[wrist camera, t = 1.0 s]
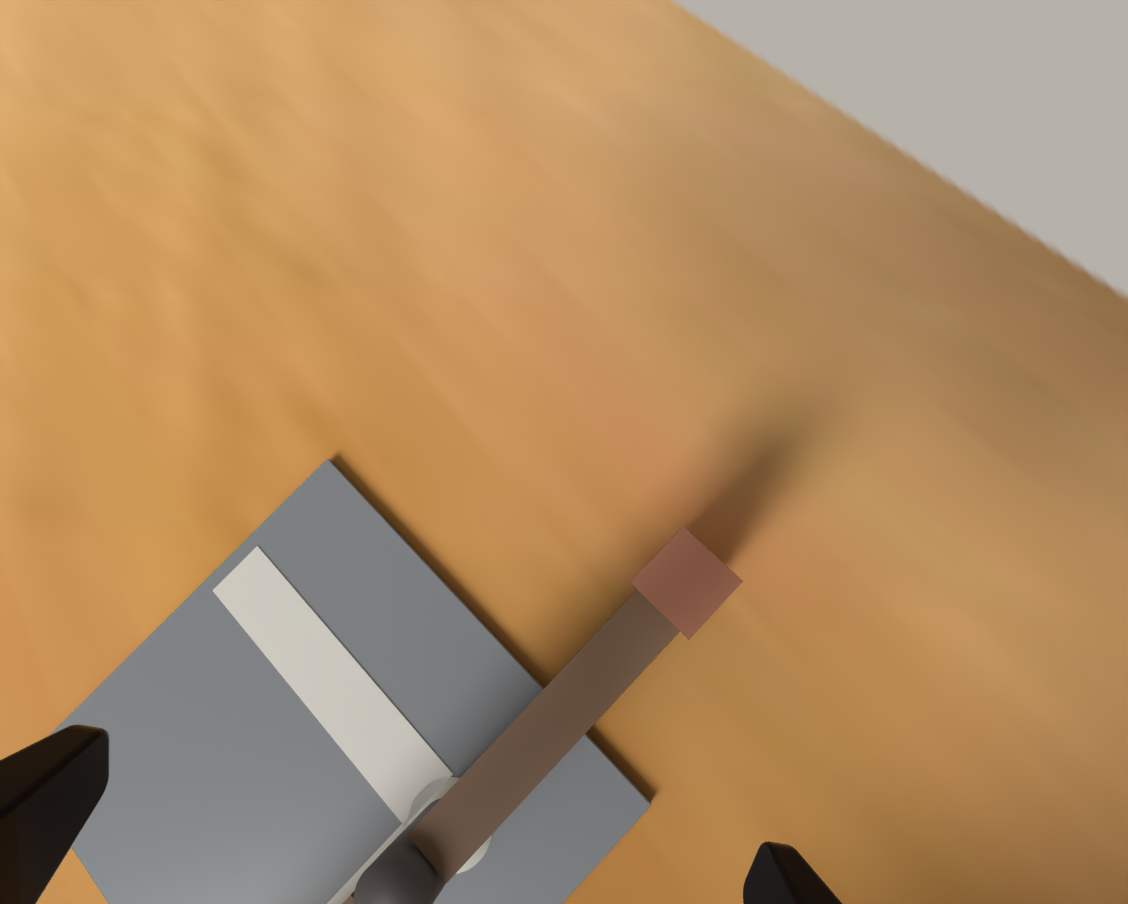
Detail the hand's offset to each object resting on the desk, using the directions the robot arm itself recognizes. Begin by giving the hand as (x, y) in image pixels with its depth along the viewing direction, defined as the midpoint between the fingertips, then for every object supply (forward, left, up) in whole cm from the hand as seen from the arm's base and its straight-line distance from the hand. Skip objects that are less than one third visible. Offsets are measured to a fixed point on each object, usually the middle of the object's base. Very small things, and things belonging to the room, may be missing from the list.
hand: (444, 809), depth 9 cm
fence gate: (-1, -1, -12) cm, 12 cm away
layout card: (+3, +8, -13) cm, 15 cm away
